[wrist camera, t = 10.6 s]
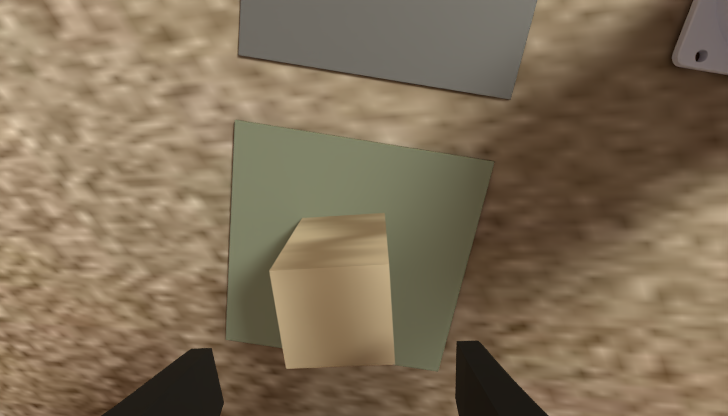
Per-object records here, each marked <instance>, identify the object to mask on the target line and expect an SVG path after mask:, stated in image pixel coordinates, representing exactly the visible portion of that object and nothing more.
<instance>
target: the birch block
mask: <svg viewBox="0 0 728 416" xmlns="http://www.w3.org/2000/svg"><path fill="white" fill-rule="evenodd" d="M269 272H270V278H271V284H272V290H273V296H274V301H275V307H276V313H277V319H278V324H279V330H280V336H281V342H282V348H283V353H284V359H285V365H286V369H294V368H319V367H345V366H370V365H395V354H394V338H393V321H392V304H391V288H390V271H389V257H388V245H387V234H386V222H385V213H375V214H359V215H343V216H326V217H310V218H302V219H301V221H300V222H299V224H298V225H297V227H296V229H295V230H294V232H293V233H292V235H291V237H290V238H289V240H288V241H287V243H286V245H285V246H284V248H283V250H282V251H281V253H280V254H279V256H278V258H277V259H276V261H275V262H274V264H273V266H272V267H271V269H270V270H269Z"/></svg>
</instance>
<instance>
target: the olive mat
mask: <svg viewBox="0 0 728 416" xmlns="http://www.w3.org/2000/svg"><path fill="white" fill-rule="evenodd" d="M493 166H494V161H489V160H483V159H477V158H471V157H464V156H458V155H452V154H446V153H439V152H433V151H427V150H421V149H414V148H408V147H402V146H396V145H390V144H383V143H377V142H371V141H365V140H358V139H352V138H346V137H340V136H333V135H327V134H321V133H315V132H308V131H302V130H296V129H290V128H284V127H277V126H271V125H265V124H259V123H252V122H246V121H240V120H235V130H234V154H233V178H232V202H231V226H230V249H229V273H228V297H227V321H226V340H231V341H238V342H245V343H251V344H258V345H265V346H271V347H278V348H282V342H281V336H280V330H279V324H278V319H277V313H276V307H275V301H274V296H273V290H272V284H271V278H270V272H269V270H270V269H271V267H272V266H273V264H274V262H275V261H276V259H277V258H278V256H279V254H280V253H281V251H282V250H283V248H284V246H285V245H286V243H287V241H288V240H289V238H290V237H291V235H292V233H293V232H294V230H295V229H296V227H297V225H298V224H299V222H300V221H301V219H302V218H310V217H326V216H343V215H359V214H375V213H385V222H386V234H387V245H388V257H389V271H390V288H391V304H392V321H393V338H394V354H395V365H398V366H405V367H411V368H418V369H425V370H431V371H438V370H439V366H440V362H441V359H442V355H443V351H444V347H445V344H446V340H447V336H448V333H449V329H450V325H451V321H452V318H453V314H454V310H455V307H456V303H457V299H458V296H459V292H460V288H461V284H462V281H463V277H464V273H465V270H466V266H467V262H468V258H469V255H470V251H471V247H472V244H473V240H474V236H475V232H476V229H477V225H478V221H479V218H480V214H481V210H482V206H483V203H484V199H485V195H486V192H487V188H488V184H489V181H490V177H491V173H492V169H493Z"/></svg>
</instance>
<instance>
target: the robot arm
mask: <svg viewBox="0 0 728 416" xmlns="http://www.w3.org/2000/svg"><path fill="white" fill-rule="evenodd" d="M697 52H699V54H700V57H699V59H698V61H696V60H695V55H696V54H697ZM672 61H673V63H674V65H675V66H678V67H682V68H688V69H694V70H700V71H706V72H712V73H718V74H724V75H728V0H693V3H692V5H691V8H690V10H689V13H688V15H687V18H686V21H685V23H684V26H683V28H682V31H681V33H680V36H679V39H678V41H677V44H676V46H675V49H674V52H673V55H672ZM455 399H456V404H457V409H458V414H459V416H548V415H547V414H546V413H545V412H544V411H543V410H542V409H541V408H540V407H539V406H538V405H537V404H536V403H535V402H534V401H533V400H532V399H531V398H530V397H529V396H528V395H527V393H526V392H525V391H524V390H523V389H522V388H521V387H520V386H519V385H518V384H517V383H516V382H515V381H514V380H513V379H512V378H511V377H510V376H509V374H508V373H507V372H506V371H505V370H504V369H503V368H502V367H501V366H500V364H499V363H498V362H497V361H496V360H495V359H494V358H493V356H492V355H491V354H490V353H489V352H488V351H487V349H486V348H485V347H484V346H483V345H482V344H481V343H480V342H479V341H457V349H456V394H455ZM223 404H224V401H223V396H222V392H221V387H220V383H219V379H218V374H217V370H216V365H215V361H214V357H213V352H212V348H200V349H191V350H189V351H188V352H186V353H185V354H183V355H182V356H181V357H179V358H178V359H177V360H175V361H174V362H173V363H171V364H170V365H169V366H167V367H166V368H165V369H163V370H162V371H161V372H159V373H158V374H157V375H155V376H154V377H153V378H152V379H150V380H149V381H148V382H146V383H145V384H144V385H142V386H141V387H140V388H138V389H137V390H136V391H134V392H133V393H132V394H131V395H129V396H128V397H127V398H125V399H124V400H123V401H121V402H120V403H119V404H117V405H116V406H114V407H113V408H112V409H110V410H109V411H107V412H106V413H105V414H103V415H102V416H220V413H221V410H222V407H223Z"/></svg>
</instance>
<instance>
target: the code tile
mask: <svg viewBox="0 0 728 416" xmlns="http://www.w3.org/2000/svg"><path fill="white" fill-rule="evenodd" d="M536 3H537V0H241V8H240V31H239V55H241V56H247V57H253V58H260V59H266V60H272V61H278V62H284V63H290V64H296V65H302V66H309V67H315V68H321V69H327V70H333V71H339V72H345V73H351V74H357V75H364V76H370V77H376V78H382V79H388V80H394V81H400V82H406V83H412V84H419V85H425V86H431V87H437V88H443V89H449V90H455V91H461V92H468V93H474V94H480V95H486V96H492V97H498V98H504V99H511V96H512V92H513V89H514V85H515V81H516V77H517V74H518V70H519V66H520V62H521V59H522V55H523V51H524V48H525V44H526V40H527V36H528V33H529V29H530V25H531V22H532V18H533V14H534V10H535V7H536Z"/></svg>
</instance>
